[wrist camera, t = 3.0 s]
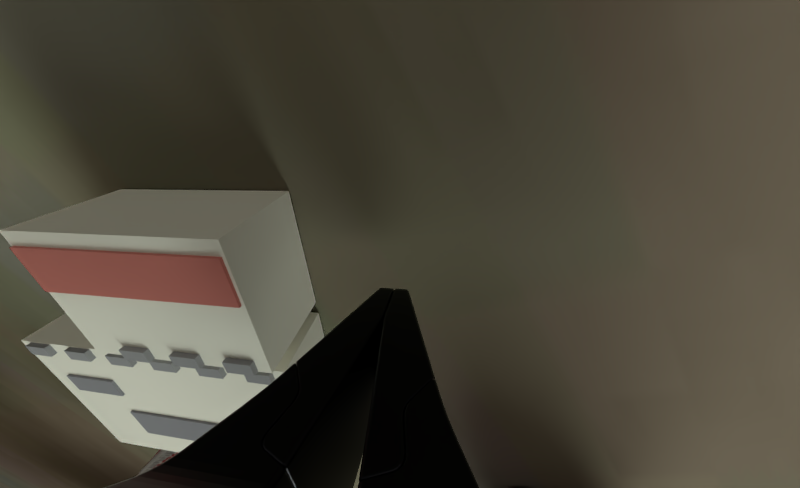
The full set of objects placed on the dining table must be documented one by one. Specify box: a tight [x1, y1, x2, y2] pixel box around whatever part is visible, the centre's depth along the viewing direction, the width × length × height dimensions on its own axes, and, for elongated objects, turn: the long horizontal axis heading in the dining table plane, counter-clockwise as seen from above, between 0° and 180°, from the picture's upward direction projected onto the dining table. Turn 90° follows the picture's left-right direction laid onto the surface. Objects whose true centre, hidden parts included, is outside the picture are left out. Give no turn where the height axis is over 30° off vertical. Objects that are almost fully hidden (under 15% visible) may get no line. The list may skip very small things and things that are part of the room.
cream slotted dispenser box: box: [21, 312, 324, 453], centre depth 14 cm, size 12×8×3 cm, turn 93°
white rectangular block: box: [0, 189, 316, 376], centre depth 10 cm, size 7×5×4 cm
